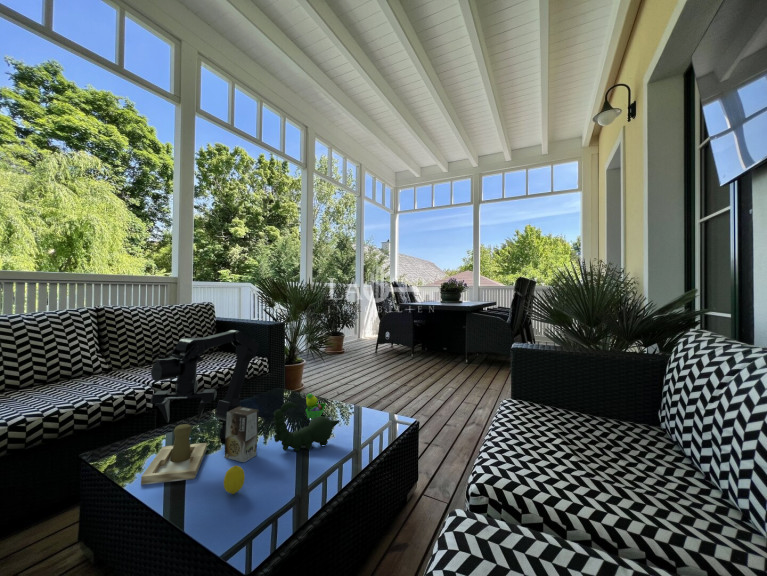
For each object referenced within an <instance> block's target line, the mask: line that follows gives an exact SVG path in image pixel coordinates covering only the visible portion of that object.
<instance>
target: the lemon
mask: <svg viewBox="0 0 767 576" xmlns="http://www.w3.org/2000/svg"><path fill="white" fill-rule="evenodd" d="M223 477H224V478H223V488H224V490H225V492H226V493H228V494H231V495H235V494H236V493H238V492H239V491H240V490H241V489H242V488H243V486H244V484H245V478H246V477H245V471H244V469H243V468H242V467H241V466H238V465H233V466H231V467H230V468H228V469H227V471H226V472H225V475H224V476H223Z"/></svg>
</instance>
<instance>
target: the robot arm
mask: <svg viewBox="0 0 767 576" xmlns="http://www.w3.org/2000/svg"><path fill="white" fill-rule="evenodd" d="M229 343H231V344H232V345H233V346H234V347H235V357H236V362H235V365H234V368H233V371H232V374H231V379H230V382H229V385H228V388H227V392H226V395H225V396H224V398H223V399H222V400H221V399H219V400H218V401H217V405H216V408H215V410H214V411H215V416H216V419H218V422H219V423H222V424H221V426H220V430H219V439H220V441H219V442H220V443H225V439H226V421H227V412H228V411H231V410H233V409H235V408H237V407H242V405H241V401H240V397H241V396H240V395H241V392H242V389H243V385H244V382H245V379H246V376H247V373H248V368H249V365H250V363H251V361H252V360H253V359H254V358H255V357H256V355H257V352H258V350H259V346H260V345H259V343H258V342H257V340H255V339H253V338H251V337H249V336H248V335H246V334H244V333H243V332H242V331H240V330H238V329H237V330H235V329H230V330H228V331H225V332H219V333H216V334H213V335H209V336H205V337H185V338H181V339H180V340H179V341H178V342H177V344H176V346H175V347H174V349H173V350H172V351H171V352H170V353H169V355H168V357H167V358H157V359H156V360H155V363H154V364H153V365H152V366H151V367H152V368H151V369H150V376H151V378H152V380H153V381H154V382H161V381H166V380H171V379H176V382H175V387H174V388H175V393H173V392H172V393H170V390H157V391H156V392H154V394H152V395H151V398H150V404H151V405H153V404H154V407H158V408H159V410H160V412H161V413H162V416H163V418H164V420H165V422H166V423H169V422H170V403H171V402H170V401H171V400H188V399H190V400H191V399H200V400H201V401H200V402H199V406H198V412H197V418H196V419H197V420H196V421H197V422H199V421H200V419H201V417H202V415H203V411H204V410H205V407H206V405H209V404H211V402H214V401H215V399H216V398H217V393H218V391H217V390H216V389H215V388H211V389H210V388H209V389H208V388H207V389H203V390H202V392H197V391H198V387H199V381H198V380H197V371H198V362H204V358H202V356H201V355H202V354H203V353H205V352H206V351H207V350H209V349H211V348H216V347H218V346H222V345H226V344H229Z"/></svg>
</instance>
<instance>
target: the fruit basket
mask: <svg viewBox="0 0 767 576" xmlns="http://www.w3.org/2000/svg"><path fill="white" fill-rule="evenodd" d="M305 399H306V400H305V401H306V402H305V403H306V406H307V407H306V409H305V413H306V417H307V419H308V418H311V419H314V418H316V417H319V416H321V415H322V413H323V414H324V412H325V408H326V405H327V404H326V403H325V402H324V403H323V402H320V403H319V402H318V401H319V400H318V398H317V397H316V396H315V395H314V394H313V393H307V395H306V398H305ZM322 416H323V415H322Z"/></svg>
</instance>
